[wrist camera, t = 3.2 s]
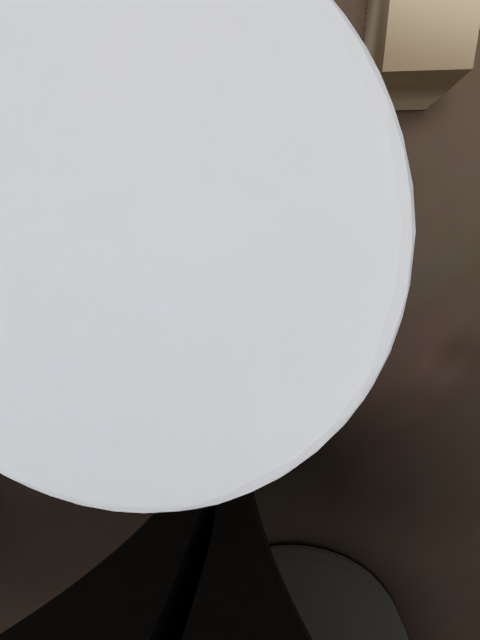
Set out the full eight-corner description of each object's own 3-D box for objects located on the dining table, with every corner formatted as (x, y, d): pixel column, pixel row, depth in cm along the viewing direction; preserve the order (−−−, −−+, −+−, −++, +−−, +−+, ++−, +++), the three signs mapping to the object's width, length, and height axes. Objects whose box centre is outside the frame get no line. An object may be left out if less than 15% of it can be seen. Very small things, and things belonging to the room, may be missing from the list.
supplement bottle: (192, 331, 13) (-65, 618, 3) (146, 185, 11) (-472, -64, 2) (336, 297, 12) (591, 550, 2) (301, 135, 11) (510, -755, 1)
